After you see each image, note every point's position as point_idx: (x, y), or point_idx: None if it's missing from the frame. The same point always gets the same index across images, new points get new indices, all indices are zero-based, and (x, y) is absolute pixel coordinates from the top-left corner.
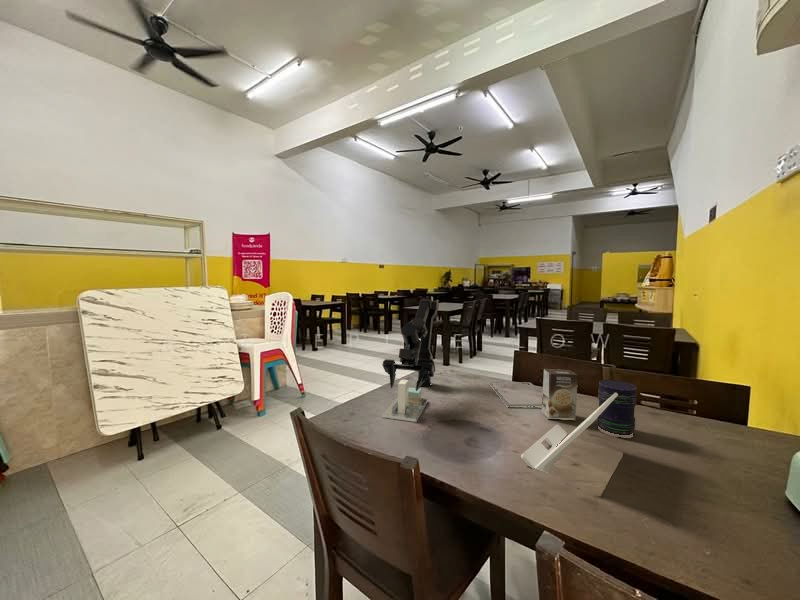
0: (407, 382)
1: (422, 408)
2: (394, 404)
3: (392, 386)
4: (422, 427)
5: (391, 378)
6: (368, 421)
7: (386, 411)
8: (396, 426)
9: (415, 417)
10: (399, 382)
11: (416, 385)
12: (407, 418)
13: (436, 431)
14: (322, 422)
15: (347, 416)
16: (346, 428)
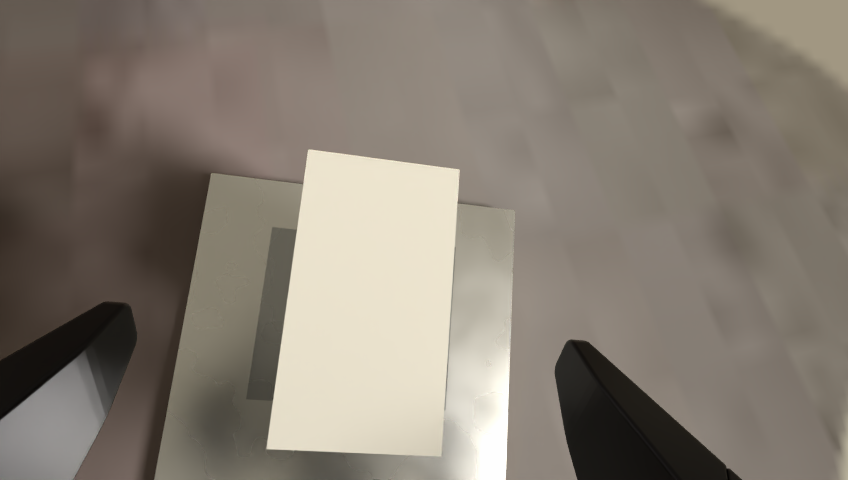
0: (282, 350)
1: (162, 435)
2: (472, 462)
3: (564, 384)
4: (159, 102)
5: (677, 450)
6: (578, 138)
7: (500, 279)
8: (365, 92)
9: (221, 205)
10: (444, 233)
11: (81, 346)
12: (293, 185)
13: (37, 53)
14: (827, 84)
15: (740, 190)
16: (665, 29)
